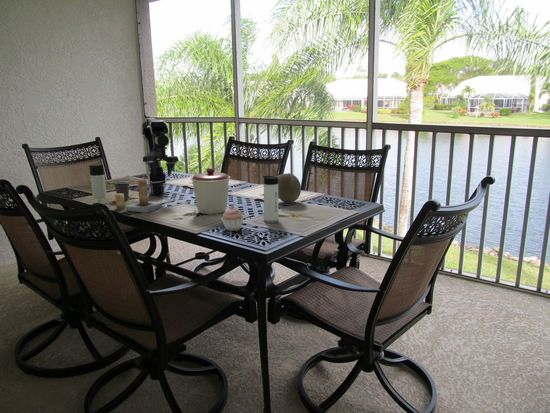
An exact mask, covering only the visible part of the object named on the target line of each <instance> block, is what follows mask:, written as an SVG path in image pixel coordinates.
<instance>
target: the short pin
mask: <svg viewBox="0 0 550 413" xmlns="http://www.w3.org/2000/svg"><path fill="white" fill-rule="evenodd" d="M114 196H115V205H116V206H115V207H116V210H124V209H125V210H126V203H125V201H126V200H125V201H124V194H117V193H116V194H114Z"/></svg>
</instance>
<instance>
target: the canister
mask: <svg viewBox="0 0 550 413" xmlns="http://www.w3.org/2000/svg"><path fill="white" fill-rule="evenodd" d="M230 179H231V176H230V175H228V174H227V173H224V172H218V171H217V172H215V168H213V167H211V166H210V167H207V168H206V172H201V173H197V174H194V175H193V176H192V177H190V180H191V181H192V187H193V192H194V193H193V194H194V200H195V204H196V209H197V211H198V212H199V213H200V214H203V215H217V214H218V215H219V214H221V213H224V212H225V210H226V209H227V207H228V206H227V205H228V197H229V196H228V195H229V187H230V186H229V183H230Z"/></svg>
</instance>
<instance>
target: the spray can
mask: <svg viewBox="0 0 550 413" xmlns="http://www.w3.org/2000/svg"><path fill="white" fill-rule="evenodd" d="M88 167H89V176H90V184H91V185H90V186H91V193H92V200H93V201H92V202H93V204H94V203H103V204H102V205H106V204H108V197H107V196H108V195H107V188H106V178H105V176H106V175H105V168H104V164H103V163H93V164H89V166H88Z"/></svg>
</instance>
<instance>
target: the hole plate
mask: <svg viewBox="0 0 550 413" xmlns="http://www.w3.org/2000/svg"><path fill="white" fill-rule="evenodd" d="M162 207H163V203H162V202H158V201H157V202H156V201H149V200H148V206H140V202H139V201H137V202H134V203H131V204H129V205H125V211H130V212H139V213H144V214H145V213H149V212H152V211H155V210H157V209H160V208H162Z"/></svg>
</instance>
